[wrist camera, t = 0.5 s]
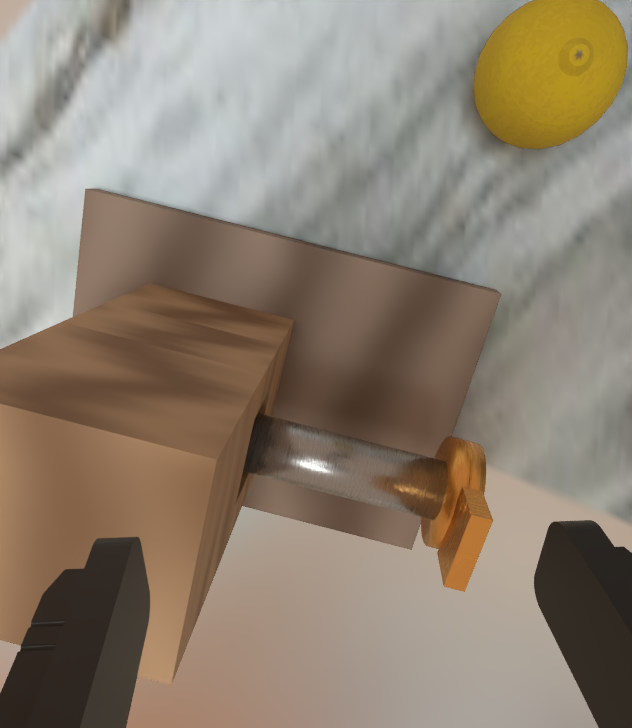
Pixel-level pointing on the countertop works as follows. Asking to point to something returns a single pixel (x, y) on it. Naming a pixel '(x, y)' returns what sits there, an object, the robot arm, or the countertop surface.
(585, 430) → the countertop surface
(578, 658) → the robot arm
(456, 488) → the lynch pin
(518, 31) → the lemon
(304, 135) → the countertop surface
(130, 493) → the hitch post
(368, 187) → the countertop surface
